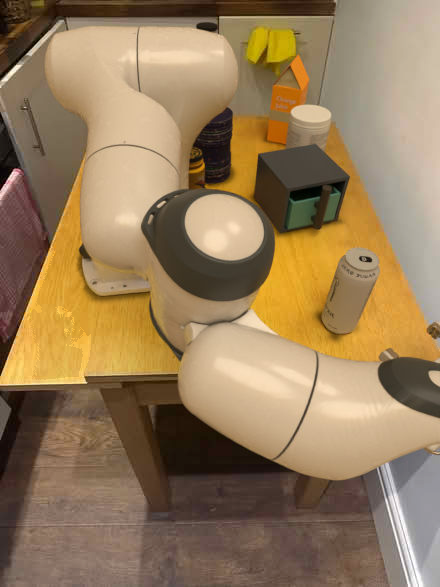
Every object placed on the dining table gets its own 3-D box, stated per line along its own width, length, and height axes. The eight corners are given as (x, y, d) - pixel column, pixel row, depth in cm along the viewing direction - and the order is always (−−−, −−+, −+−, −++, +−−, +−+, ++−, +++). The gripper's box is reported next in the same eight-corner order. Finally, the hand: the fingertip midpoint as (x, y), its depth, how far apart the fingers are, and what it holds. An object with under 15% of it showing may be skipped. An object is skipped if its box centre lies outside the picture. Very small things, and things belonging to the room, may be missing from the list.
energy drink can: (320, 307, 72) (340, 242, 61) (354, 311, 72) (381, 247, 61) (320, 334, 68) (342, 270, 57) (356, 339, 68) (386, 275, 57)
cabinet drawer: (341, 227, 86) (354, 185, 78) (294, 238, 83) (303, 195, 76) (305, 187, 96) (313, 145, 88) (262, 195, 93) (267, 153, 86)
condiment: (212, 204, 92) (213, 155, 84) (179, 216, 89) (176, 166, 80) (195, 188, 97) (194, 140, 88) (164, 199, 93) (159, 150, 84)
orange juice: (300, 132, 117) (314, 55, 103) (293, 145, 112) (306, 66, 97) (274, 127, 119) (284, 50, 104) (265, 140, 113) (274, 61, 99)
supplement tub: (320, 163, 106) (333, 106, 95) (319, 183, 99) (333, 124, 89) (283, 159, 107) (291, 101, 96) (280, 178, 100) (288, 119, 90)
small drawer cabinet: (337, 220, 89) (350, 176, 81) (279, 233, 86) (287, 188, 78) (306, 186, 98) (315, 143, 90) (253, 197, 95) (258, 153, 87)
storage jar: (191, 162, 105) (189, 103, 94) (229, 162, 105) (232, 103, 94) (191, 184, 98) (188, 122, 87) (231, 184, 98) (234, 123, 87)
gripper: (426, 473, 48) (346, 382, 55) (530, 395, 55) (446, 324, 63) (450, 452, 43) (358, 356, 51) (560, 370, 50) (465, 297, 58)
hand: (407, 338), depth 57 cm, fingers open, 8 cm apart
